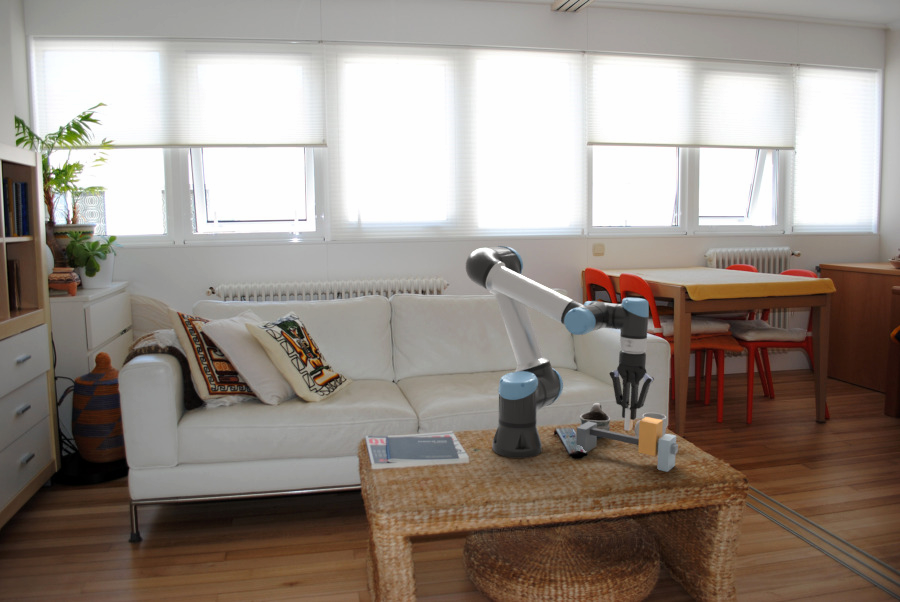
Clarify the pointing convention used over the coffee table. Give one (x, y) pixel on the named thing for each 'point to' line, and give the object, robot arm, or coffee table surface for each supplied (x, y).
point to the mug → (596, 417)
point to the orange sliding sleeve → (649, 435)
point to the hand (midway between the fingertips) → (628, 429)
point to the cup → (652, 415)
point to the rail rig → (664, 446)
